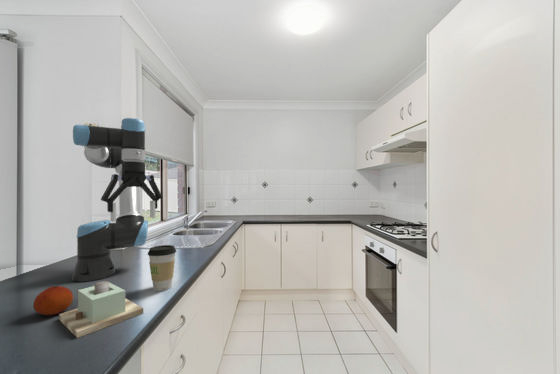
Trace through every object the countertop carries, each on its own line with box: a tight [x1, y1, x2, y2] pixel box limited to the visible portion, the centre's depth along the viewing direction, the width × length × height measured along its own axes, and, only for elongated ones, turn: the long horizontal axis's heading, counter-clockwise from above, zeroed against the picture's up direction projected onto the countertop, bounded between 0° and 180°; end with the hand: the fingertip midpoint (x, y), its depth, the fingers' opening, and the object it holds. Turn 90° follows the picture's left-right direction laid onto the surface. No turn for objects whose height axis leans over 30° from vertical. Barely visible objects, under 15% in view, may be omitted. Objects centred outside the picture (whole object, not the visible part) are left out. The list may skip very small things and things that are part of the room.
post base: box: [58, 280, 144, 339], centre depth 76 cm, size 16×16×10 cm
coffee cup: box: [147, 244, 177, 292], centre depth 98 cm, size 10×10×15 cm
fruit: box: [33, 285, 74, 316], centre depth 79 cm, size 9×9×8 cm
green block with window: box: [77, 282, 126, 323], centre depth 76 cm, size 12×8×6 cm, turn 53°
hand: (134, 219), depth 96 cm, fingers open, 13 cm apart
